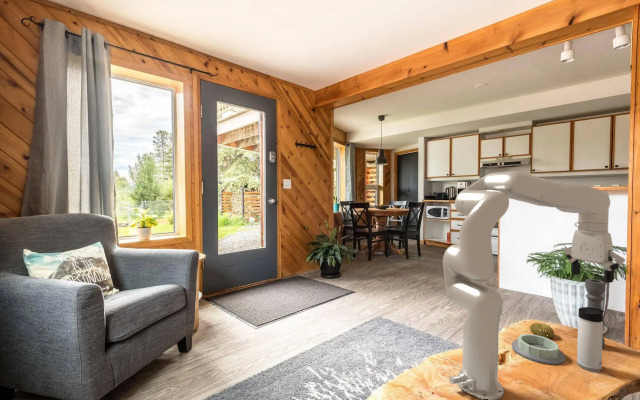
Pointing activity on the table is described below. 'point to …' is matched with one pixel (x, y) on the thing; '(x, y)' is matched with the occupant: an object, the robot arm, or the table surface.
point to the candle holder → (595, 296)
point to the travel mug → (590, 339)
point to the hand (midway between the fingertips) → (591, 278)
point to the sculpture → (540, 332)
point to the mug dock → (540, 360)
